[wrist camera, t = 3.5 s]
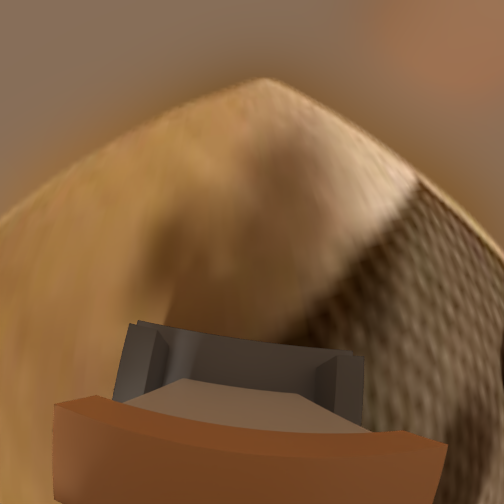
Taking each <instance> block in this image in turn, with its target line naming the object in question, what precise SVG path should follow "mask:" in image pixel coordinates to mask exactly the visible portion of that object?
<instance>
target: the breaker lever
mask: <svg viewBox="0 0 504 504" xmlns="http://www.w3.org/2000/svg"><path fill="white" fill-rule="evenodd" d="M447 448H448V444H444V443H441V442H438V441H434V440H431V439H428V438H425V437H422V436H418V435H415V434H412V433H409V432H407V431H404V430H401V431H389V432H371V431H369V430H367V429H365V428H363V427H360V426H358V425H356V424H354V423H352V422H350V421H348V420H346V419H344V418H342V417H340V416H338V415H336V414H334V413H332V412H330V411H329V410H327V409H325V408H323V407H321V406H319V405H317V404H315V403H313V402H312V401H310V400H308V399H306V398H304V397H302V396H301V395H299V394H295V393H283V392H273V391H264V390H255V389H247V388H240V387H233V386H226V385H219V384H213V383H207V382H202V381H196V380H191V379H185V378H182V379H180V380H177V381H175V382H173V383H170V384H168V385H166V386H163V387H161V388H158V389H156V390H154V391H151V392H149V393H146V394H144V395H141V396H139V397H136V398H134V399H131V400H128V401H126V402H123V403H120V402H116V401H113V400H110V399H107V398H104V397H100V396H97V395H95V396H90V397H86V398H81V399H77V400H72V401H67V402H62V403H57V404H54V418H53V447H52V461H53V489H54V500H56V501H59V502H61V503H63V504H432V503H433V500H434V497H435V494H436V491H437V487H438V484H439V480H440V477H441V473H442V469H443V465H444V461H445V457H446V453H447Z"/></svg>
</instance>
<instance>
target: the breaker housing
mask: <svg viewBox="0 0 504 504" xmlns="http://www.w3.org/2000/svg"><path fill="white" fill-rule="evenodd" d="M182 378H185V379H191V380H196V381H202V382H207V383H213V384H219V385H226V386H233V387H240V388H247V389H255V390H264V391H273V392H283V393H295V394H299V395H301V396H302V397H304V398H306V399H308V400H310V401H312V402H313V403H315V404H317V405H319V406H321V407H323V408H325V409H327V410H329V411H330V412H332V413H334V414H336V415H338V416H340V417H342V418H344V419H346V420H348V421H350V422H352V423H354V424H356V425H358V426H360V427H361V419H362V405H363V385H364V356H353V351H348V350H335V349H323V348H312V347H302V346H293V345H284V344H276V343H268V342H260V341H253V340H245V339H239V338H232V337H225V336H219V335H213V334H207V333H201V332H195V331H190V330H184V329H179V328H174V327H169V326H164V325H159V324H154V323H149V322H144V321H140V320H138V321H137V325H135V324H131V323H129V327H128V331H127V335H126V339H125V343H124V347H123V351H122V356H121V360H120V364H119V369H118V373H117V378H116V383H115V388H114V393H113V398H112V400H113V401H116V402H120V403H123V402H126V401H128V400H131V399H134V398H136V397H139V396H141V395H144V394H146V393H149V392H151V391H154V390H156V389H158V388H161V387H163V386H166V385H168V384H170V383H173V382H175V381H177V380H180V379H182Z"/></svg>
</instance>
